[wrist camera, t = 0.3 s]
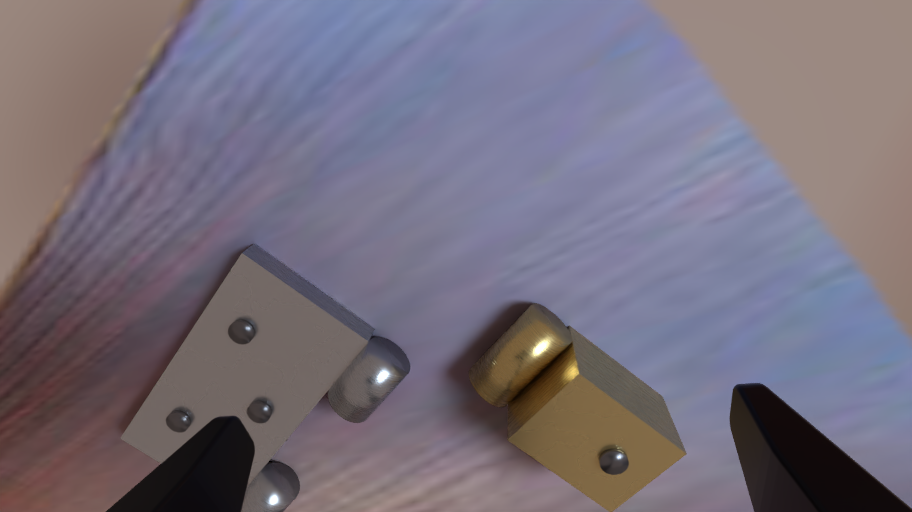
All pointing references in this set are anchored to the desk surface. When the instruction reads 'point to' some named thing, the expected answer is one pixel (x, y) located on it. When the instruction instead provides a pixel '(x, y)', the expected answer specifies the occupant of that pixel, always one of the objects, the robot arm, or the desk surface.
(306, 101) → the desk surface
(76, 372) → the desk surface
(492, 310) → the desk surface
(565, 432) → the brass leaf
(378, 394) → the steel leaf
